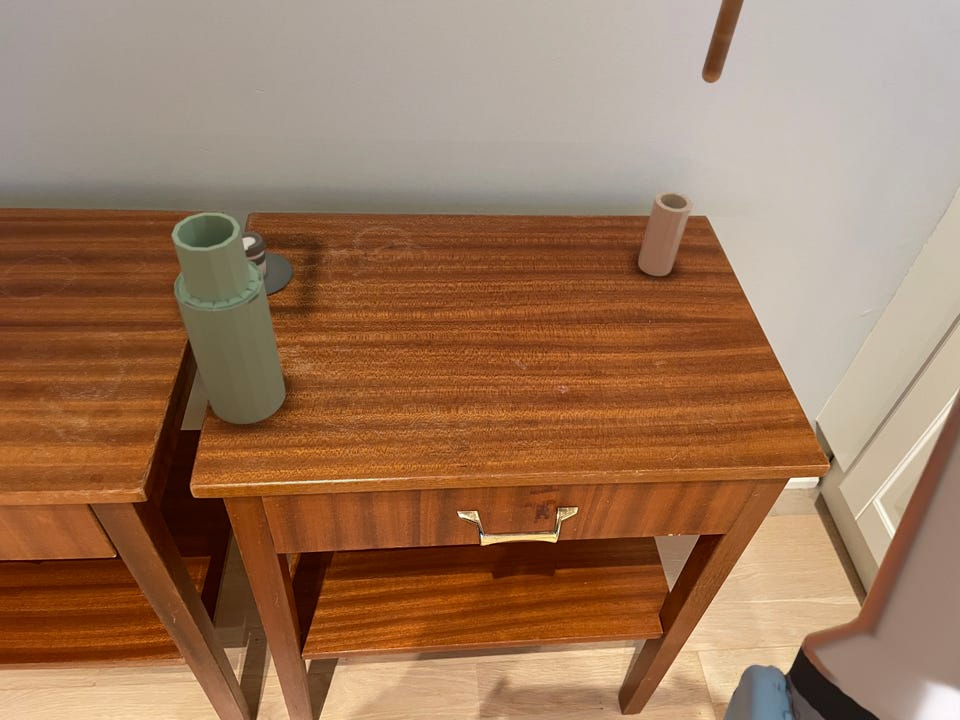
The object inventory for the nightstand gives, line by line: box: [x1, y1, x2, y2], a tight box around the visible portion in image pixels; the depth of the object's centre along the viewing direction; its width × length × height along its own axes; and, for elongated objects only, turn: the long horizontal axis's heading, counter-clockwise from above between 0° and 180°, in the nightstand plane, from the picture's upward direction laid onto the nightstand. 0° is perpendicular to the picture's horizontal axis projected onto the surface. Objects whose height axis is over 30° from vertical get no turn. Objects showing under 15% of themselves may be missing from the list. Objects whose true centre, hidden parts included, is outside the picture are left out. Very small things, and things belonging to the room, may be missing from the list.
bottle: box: [170, 211, 286, 425], centre depth 62 cm, size 7×7×19 cm
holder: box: [637, 190, 694, 277], centre depth 83 cm, size 4×4×9 cm
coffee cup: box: [241, 231, 294, 296], centre depth 79 cm, size 12×12×5 cm
